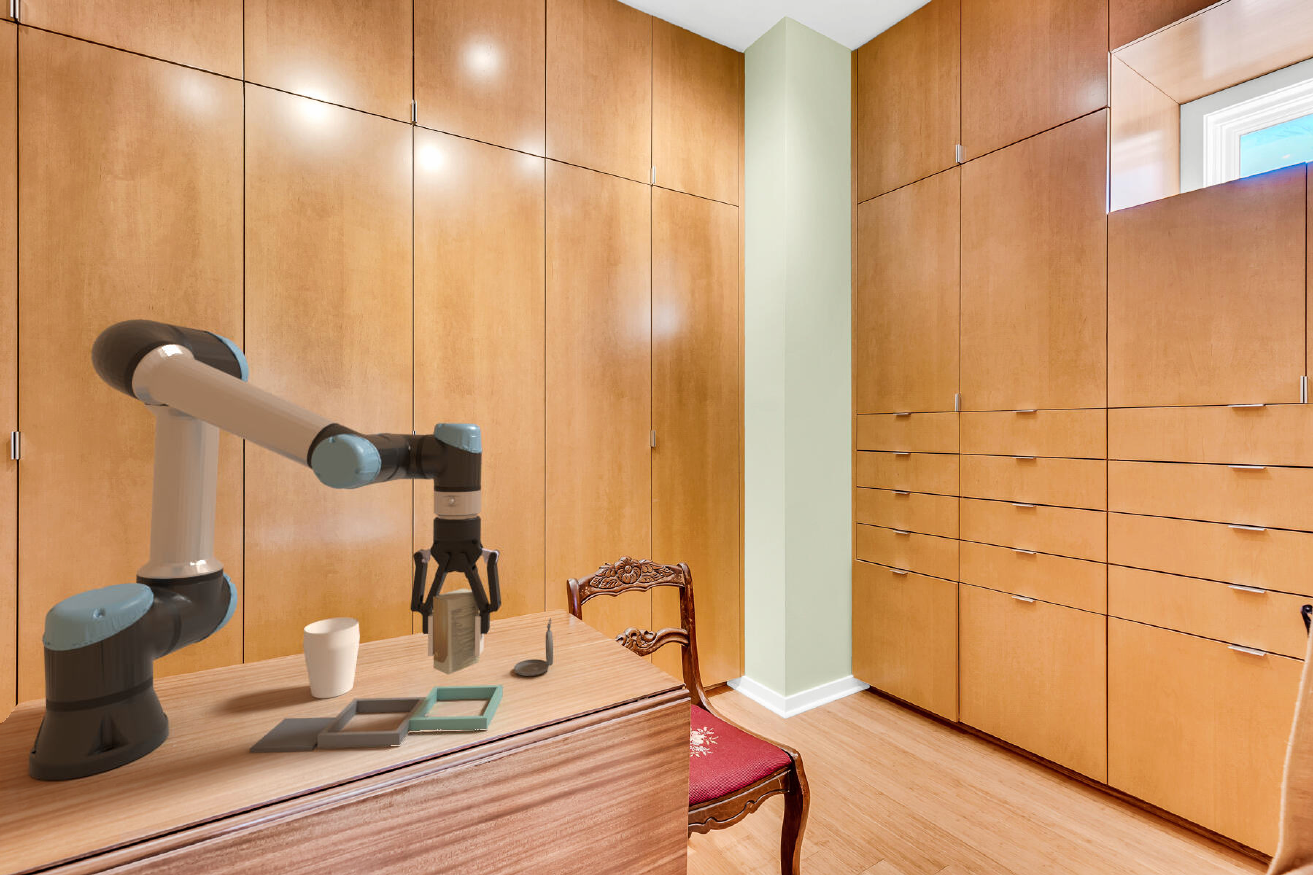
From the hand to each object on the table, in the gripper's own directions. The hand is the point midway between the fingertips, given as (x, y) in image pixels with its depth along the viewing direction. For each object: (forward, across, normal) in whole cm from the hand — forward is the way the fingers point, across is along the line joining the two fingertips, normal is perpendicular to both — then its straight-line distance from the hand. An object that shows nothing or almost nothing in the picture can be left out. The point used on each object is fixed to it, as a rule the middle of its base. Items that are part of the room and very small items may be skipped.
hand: (456, 652), depth 99 cm
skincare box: (+3, 0, 0) cm, 3 cm away
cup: (+11, -25, +10) cm, 29 cm away
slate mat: (+11, -22, -6) cm, 26 cm away
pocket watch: (+10, +11, +17) cm, 23 cm away
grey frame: (+10, -11, -4) cm, 16 cm away
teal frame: (+10, +1, 0) cm, 10 cm away
